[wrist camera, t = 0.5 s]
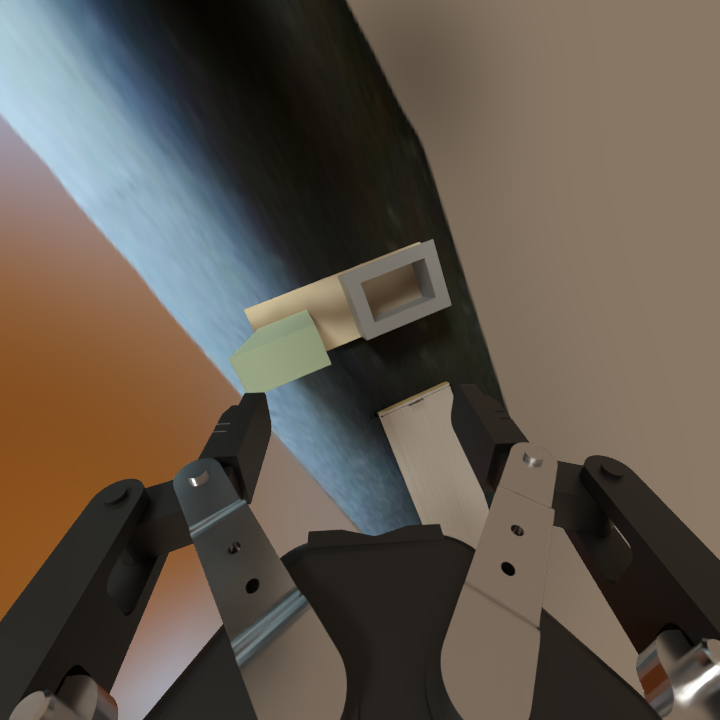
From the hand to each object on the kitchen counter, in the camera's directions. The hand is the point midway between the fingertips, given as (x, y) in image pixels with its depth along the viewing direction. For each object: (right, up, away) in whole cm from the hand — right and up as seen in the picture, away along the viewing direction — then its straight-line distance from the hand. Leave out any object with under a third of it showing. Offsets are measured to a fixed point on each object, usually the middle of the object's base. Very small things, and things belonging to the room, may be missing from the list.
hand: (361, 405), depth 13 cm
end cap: (+4, +10, +24) cm, 27 cm away
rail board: (-2, +8, +25) cm, 26 cm away
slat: (-8, +5, +23) cm, 25 cm away
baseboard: (+12, -17, +34) cm, 40 cm away
